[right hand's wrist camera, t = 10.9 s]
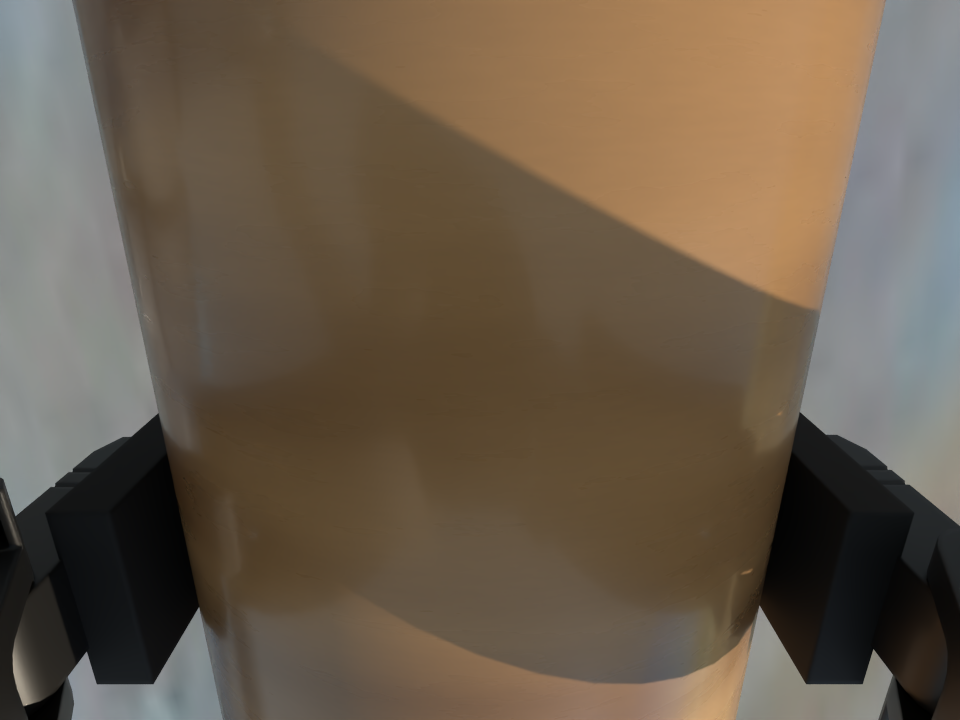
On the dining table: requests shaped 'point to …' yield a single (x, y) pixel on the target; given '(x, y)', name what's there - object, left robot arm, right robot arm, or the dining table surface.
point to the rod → (479, 332)
